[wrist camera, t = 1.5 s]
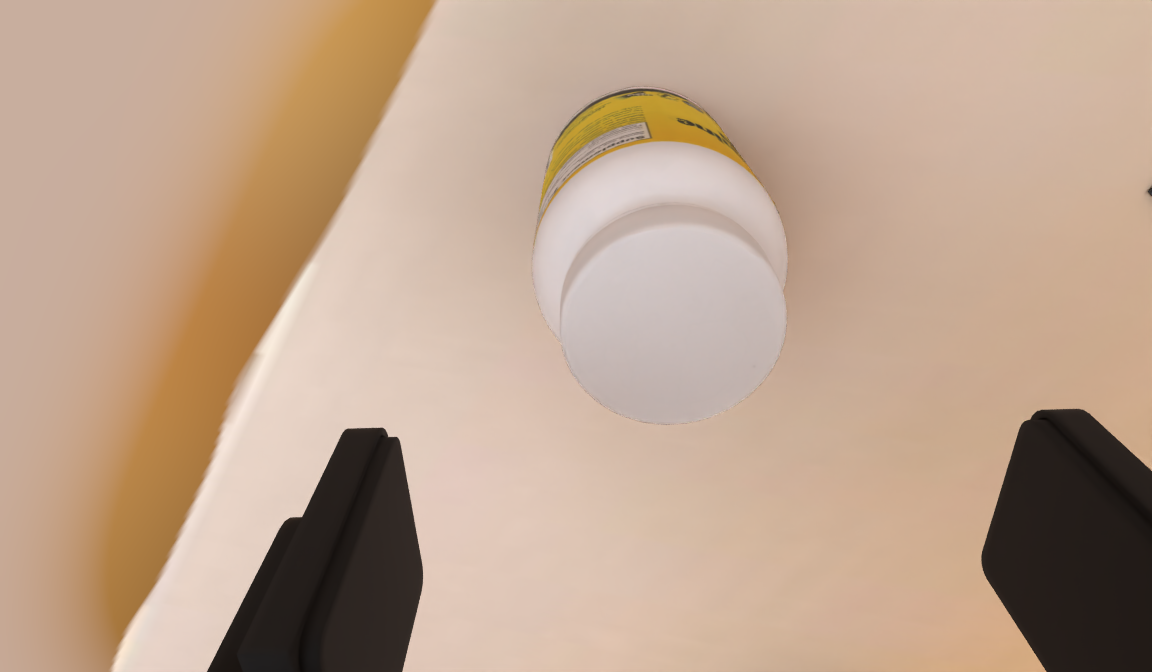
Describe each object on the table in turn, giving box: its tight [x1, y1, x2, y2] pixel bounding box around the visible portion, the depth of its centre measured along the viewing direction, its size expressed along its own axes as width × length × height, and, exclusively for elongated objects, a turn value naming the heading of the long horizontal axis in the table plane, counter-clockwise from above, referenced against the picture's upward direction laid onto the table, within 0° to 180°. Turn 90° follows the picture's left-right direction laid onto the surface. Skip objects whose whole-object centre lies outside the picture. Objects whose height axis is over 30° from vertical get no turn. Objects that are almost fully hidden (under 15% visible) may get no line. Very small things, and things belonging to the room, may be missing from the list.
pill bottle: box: [532, 87, 788, 425], centre depth 20 cm, size 6×6×11 cm
